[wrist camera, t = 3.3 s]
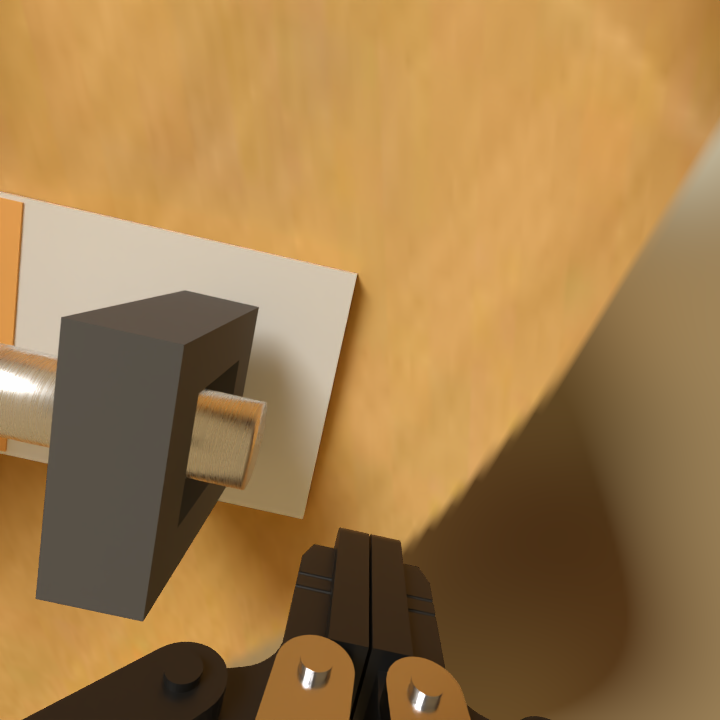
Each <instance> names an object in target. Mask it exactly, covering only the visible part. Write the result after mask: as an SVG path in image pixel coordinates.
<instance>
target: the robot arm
mask: <svg viewBox="0 0 720 720" xmlns="http://www.w3.org/2000/svg"><path fill="white" fill-rule="evenodd" d="M23 720H489V719H487V718H485V717H483V716H482V715H480V714H478V713H477V712H475V711H474V710H472V709H471V708H470V707H469V706H467V705H466V702H465V698H464V695H463V693H462V690H461V688H460V686H459V684H458V683H457V682H456V680H455V679H454V677H453V676H452V675H451V674H450V673H449V672H448V671H447V670H445V665H444V660H443V654H442V649H441V643H440V638H439V633H438V627H437V621H436V617H435V610H434V605H433V603H432V594H431V588H430V583H429V582H428V580H427V579H426V577H425V576H424V574H423V573H422V572H421V570H420V569H419V567H417V566H412V565H407V564H403V558H402V549H401V542H400V541H399V540H395V539H390V538H386V537H381V536H376V535H372V534H371V535H370V536H369V534H367V533H362V532H358V531H353V530H349V529H344V528H339V531H338V534H337V538H336V542H335V546H334V548H329V547H325V546H320V545H315V544H314V545H313V546H312V547H311V548H310V549H309V550H308V551H307V552H306V553H305V554H304V555H303V556H302V560H301V564H300V568H299V573H298V577H297V581H296V586H295V590H294V594H293V599H292V603H291V607H290V612H289V616H288V621H287V625H286V630H285V634H284V638H283V643H282V644H281V646H280V648H279V649H278V650H277V652H276V653H275V654H274V655H272V656H271V657H270V658H268V659H267V660H265V661H263V662H261V663H258V664H255V665H252V666H246V667H236V668H226V665H225V662H224V660H223V659H222V658H221V656H220V655H219V654H218V653H217V652H216V651H215V650H213V649H211V648H210V647H208V646H205V645H203V644H199V643H194V642H178V643H173V644H169V645H166V646H164V647H162V648H159V649H157V650H155V651H153V652H152V653H150V654H148V655H146V656H144V657H142V658H140V659H138V660H136V661H134V662H132V663H130V664H129V665H127V666H125V667H123V668H121V669H119V670H117V671H115V672H113V673H111V674H109V675H107V676H105V677H104V678H102V679H100V680H98V681H96V682H94V683H92V684H90V685H88V686H86V687H84V688H82V689H80V690H79V691H77V692H75V693H73V694H71V695H69V696H67V697H65V698H63V699H61V700H59V701H57V702H55V703H54V704H52V705H50V706H48V707H46V708H44V709H42V710H40V711H38V712H36V713H34V714H32V715H30V716H29V717H27V718H25V719H23ZM522 720H550V719H547V718H543V717H537V716H533V717H532V716H530V717H526V718H524V719H522Z"/></svg>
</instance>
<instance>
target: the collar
mask: <svg viewBox="0 0 720 720" xmlns="http://www.w3.org/2000/svg"><path fill="white" fill-rule="evenodd" d="M258 310H259V307H257V306H252V305H248V304H243V303H239V302H235V301H230V300H226V299H222V298H217V297H213V296H208V295H204V294H200V293H195V292H191V291H186V290H184V291H179V292H175V293H170V294H165V295H161V296H156V297H152V298H147V299H142V300H138V301H133V302H129V303H124V304H119V305H115V306H110V307H106V308H101V309H96V310H92V311H87V312H83V313H78V314H73V315H69V316H64V317H61V325H60V336H59V347H58V358H57V369H56V380H55V391H54V402H53V413H52V425H51V436H50V447H49V458H48V469H47V480H46V491H45V502H44V513H43V524H42V535H41V546H40V557H39V568H38V579H37V590H36V599H39V600H44V601H49V602H53V603H58V604H63V605H67V606H72V607H77V608H82V609H86V610H91V611H96V612H101V613H105V614H110V615H115V616H120V617H124V618H129V619H134V620H138V621H144V619H145V617H146V616H147V614H148V613H149V611H150V609H151V608H152V606H153V605H154V603H155V601H156V600H157V598H158V596H159V595H160V593H161V592H162V590H163V588H164V587H165V585H166V584H167V582H168V580H169V579H170V577H171V575H172V574H173V572H174V571H175V569H176V567H177V566H178V564H179V562H180V561H181V559H182V558H183V556H184V554H185V553H186V551H187V550H188V548H189V546H190V545H191V543H192V541H193V540H194V538H195V537H196V535H197V533H198V532H199V530H200V529H201V527H202V525H203V524H204V522H205V520H206V519H207V517H208V516H209V514H210V512H211V511H212V509H213V507H214V506H215V504H216V503H217V501H218V499H219V498H220V496H221V495H222V493H223V491H224V490H225V488H226V486H222V485H217V484H213V483H208V482H203V481H199V480H194V479H190V478H185V477H186V471H187V464H188V458H189V452H190V446H191V439H192V433H193V427H194V420H195V414H196V408H197V402H198V395H199V393H200V392H201V391H202V390H204V389H209V390H214V391H218V392H223V393H227V394H232V395H236V396H241V397H243V393H244V387H245V382H246V376H247V371H248V365H249V360H250V354H251V348H252V343H253V337H254V332H255V326H256V321H257V315H258Z"/></svg>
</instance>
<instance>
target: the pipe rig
mask: <svg viewBox="0 0 720 720" xmlns="http://www.w3.org/2000/svg"><path fill="white" fill-rule="evenodd" d="M356 279H357V273H353V272H348V271H344V270H340V269H335V268H331V267H327V266H322V265H318V264H314V263H309V262H305V261H301V260H296V259H292V258H288V257H283V256H279V255H275V254H270V253H266V252H262V251H257V250H253V249H249V248H244V247H240V246H236V245H231V244H227V243H223V242H218V241H214V240H210V239H205V238H201V237H197V236H192V235H188V234H184V233H179V232H175V231H171V230H166V229H162V228H158V227H153V226H149V225H145V224H140V223H136V222H132V221H127V220H123V219H119V218H114V217H110V216H106V215H101V214H97V213H93V212H88V211H84V210H80V209H75V208H71V207H67V206H62V205H58V204H54V203H49V202H45V201H41V200H36V199H32V198H28V197H23V196H19V195H15V194H10V193H6V192H2V191H0V453H1V454H6V455H10V456H15V457H19V458H24V459H29V460H33V461H38V462H42V463H47V464H48V458H49V447H50V436H51V425H52V413H53V402H54V391H55V380H56V369H57V358H58V347H59V336H60V325H61V317H64V316H69V315H73V314H78V313H83V312H87V311H92V310H96V309H101V308H106V307H110V306H115V305H119V304H124V303H129V302H133V301H138V300H142V299H147V298H152V297H156V296H161V295H165V294H170V293H175V292H179V291H184V290H186V291H191V292H195V293H200V294H204V295H208V296H213V297H217V298H222V299H226V300H230V301H235V302H239V303H243V304H248V305H252V306H257V307H259V310H258V315H257V321H256V326H255V332H254V337H253V343H252V348H251V354H250V360H249V365H248V371H247V376H246V382H245V387H244V393H243V397H241V396H236V395H232V394H227V393H223V392H218V391H214V390H209V389H204V390H202V391H201V392H200V393H199V395H198V402H197V408H196V414H195V420H194V427H193V433H192V439H191V446H190V452H189V458H188V464H187V471H186V477H185V478H190V479H194V480H199V481H203V482H208V483H213V484H217V485H222V486H226V488H225V490H224V491H223V493H222V495H221V496H220V498H219V499H218V501H221V502H226V503H230V504H235V505H240V506H244V507H249V508H253V509H258V510H263V511H267V512H272V513H276V514H281V515H286V516H290V517H295V518H299V519H303V516H304V513H305V509H306V504H307V500H308V495H309V491H310V486H311V482H312V477H313V473H314V468H315V464H316V459H317V455H318V450H319V446H320V441H321V437H322V432H323V428H324V423H325V419H326V414H327V410H328V405H329V401H330V396H331V392H332V387H333V383H334V378H335V374H336V369H337V365H338V360H339V356H340V351H341V347H342V342H343V338H344V333H345V329H346V324H347V320H348V315H349V310H350V306H351V301H352V297H353V292H354V288H355V283H356Z"/></svg>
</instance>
